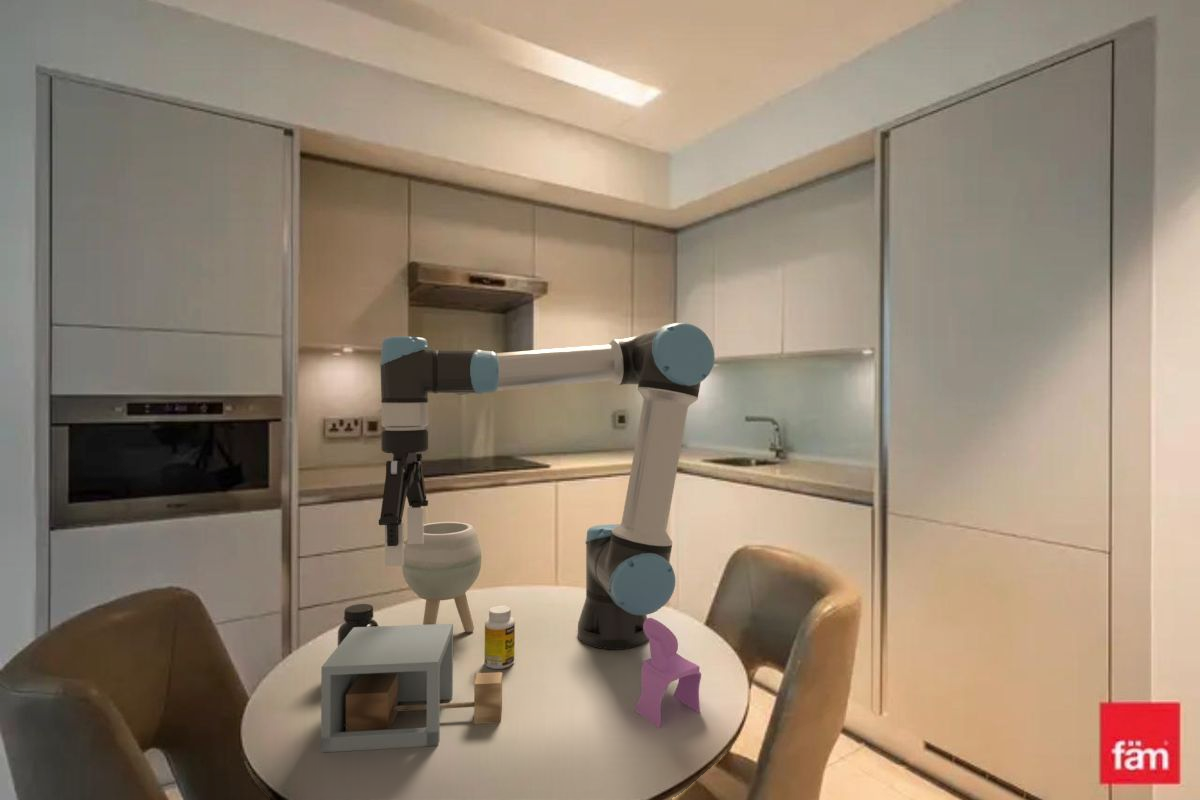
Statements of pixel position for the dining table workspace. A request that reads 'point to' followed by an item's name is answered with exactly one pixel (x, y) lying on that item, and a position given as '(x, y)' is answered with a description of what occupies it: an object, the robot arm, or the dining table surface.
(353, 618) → the supplement bottle
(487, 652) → the supplement bottle
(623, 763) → the dining table surface
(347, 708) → the tethered block
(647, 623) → the toy chair
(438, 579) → the planter
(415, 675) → the shelf cubby
